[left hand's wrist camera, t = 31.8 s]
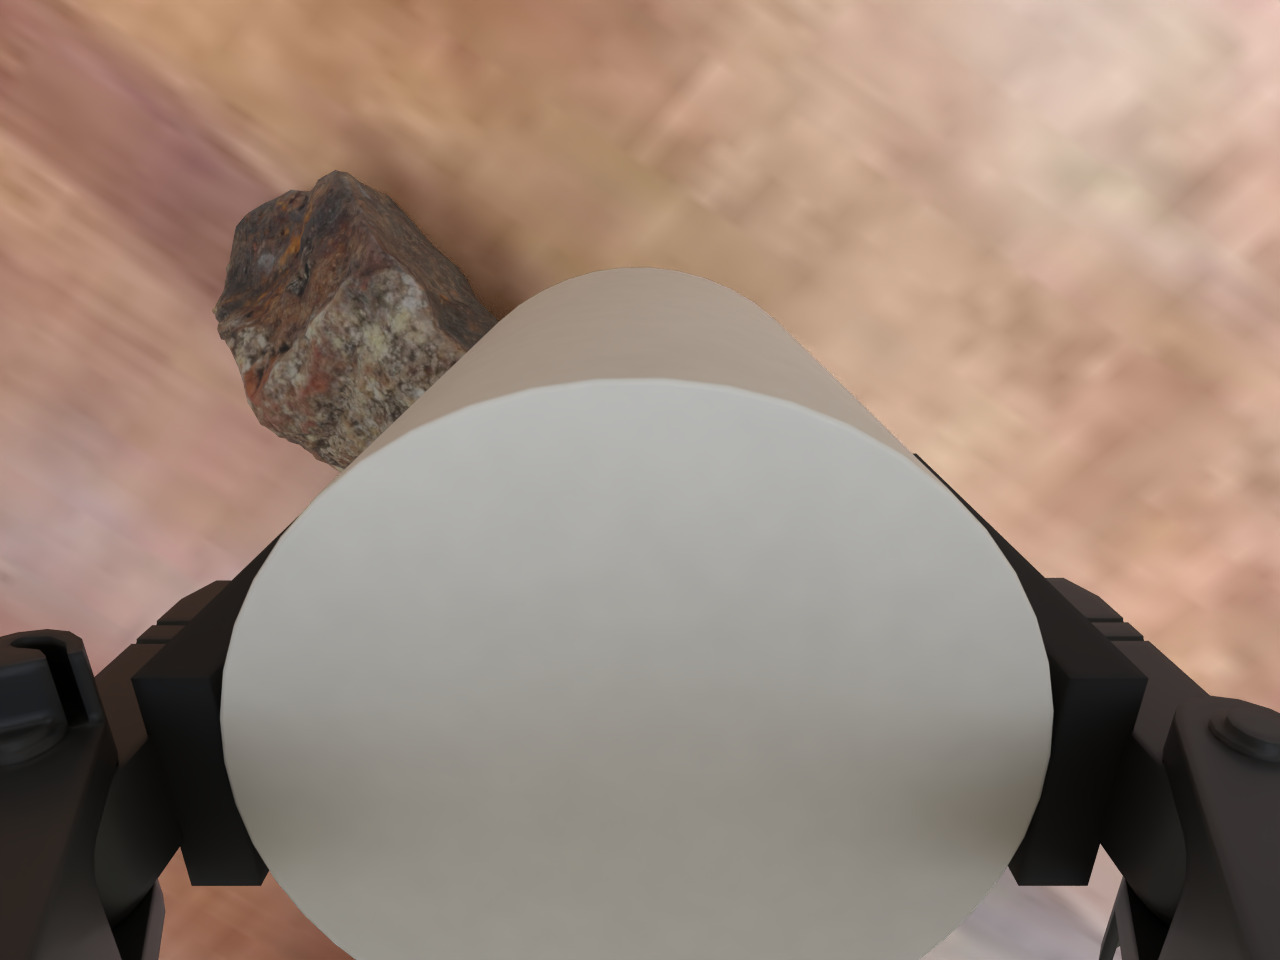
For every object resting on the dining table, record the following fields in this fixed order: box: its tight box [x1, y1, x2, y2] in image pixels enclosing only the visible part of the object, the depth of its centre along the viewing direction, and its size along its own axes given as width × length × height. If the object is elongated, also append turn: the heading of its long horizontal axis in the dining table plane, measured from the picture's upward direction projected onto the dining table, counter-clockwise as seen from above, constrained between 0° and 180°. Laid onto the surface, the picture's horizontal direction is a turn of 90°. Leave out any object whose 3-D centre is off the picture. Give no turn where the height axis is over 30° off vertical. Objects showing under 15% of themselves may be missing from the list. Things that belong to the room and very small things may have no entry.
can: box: [220, 267, 1053, 960], centre depth 12 cm, size 8×8×9 cm
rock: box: [212, 170, 498, 472], centre depth 24 cm, size 14×9×10 cm
